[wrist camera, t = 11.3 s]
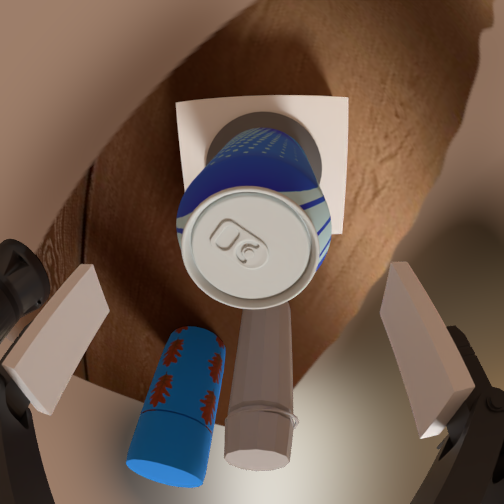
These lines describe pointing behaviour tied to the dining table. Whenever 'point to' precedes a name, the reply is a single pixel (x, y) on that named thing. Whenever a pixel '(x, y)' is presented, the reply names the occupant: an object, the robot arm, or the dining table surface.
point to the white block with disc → (275, 117)
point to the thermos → (180, 410)
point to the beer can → (254, 222)
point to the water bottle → (262, 392)
